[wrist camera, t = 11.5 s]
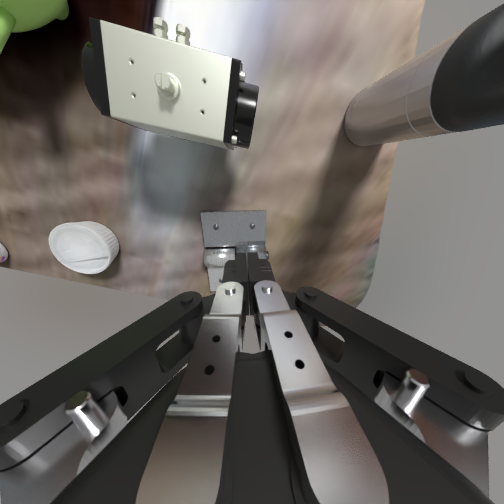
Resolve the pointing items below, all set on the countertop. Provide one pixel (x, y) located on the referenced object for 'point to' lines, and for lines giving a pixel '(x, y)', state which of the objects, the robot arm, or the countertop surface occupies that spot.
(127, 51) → the ball valve
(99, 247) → the ramekin
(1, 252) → the supplement bottle
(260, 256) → the fixed leaf
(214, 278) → the loose leaf
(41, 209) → the countertop surface
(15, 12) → the teapot
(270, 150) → the countertop surface
